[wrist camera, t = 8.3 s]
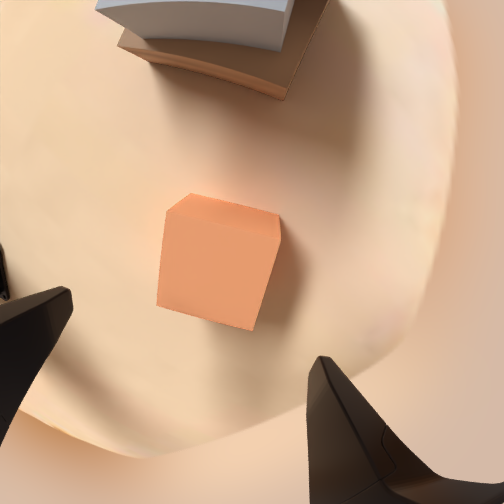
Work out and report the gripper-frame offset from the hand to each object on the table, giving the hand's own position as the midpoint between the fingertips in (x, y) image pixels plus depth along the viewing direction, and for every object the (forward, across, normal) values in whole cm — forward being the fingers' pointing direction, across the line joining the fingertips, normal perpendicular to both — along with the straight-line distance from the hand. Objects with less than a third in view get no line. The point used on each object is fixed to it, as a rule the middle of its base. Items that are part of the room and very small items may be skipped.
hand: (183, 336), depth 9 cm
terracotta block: (+8, 0, 0) cm, 8 cm away
